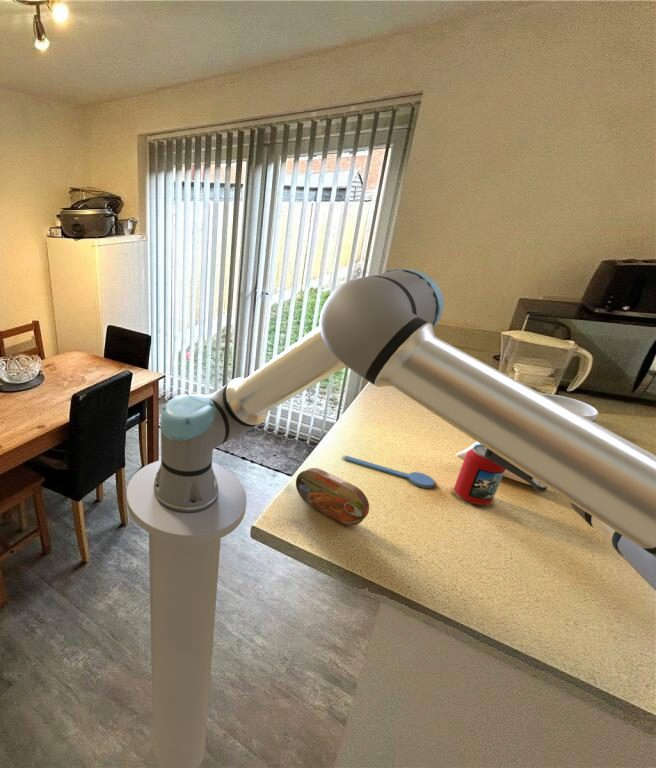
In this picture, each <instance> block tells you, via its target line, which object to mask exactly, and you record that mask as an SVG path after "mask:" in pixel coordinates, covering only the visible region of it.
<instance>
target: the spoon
mask: <svg viewBox="0 0 656 768" xmlns="http://www.w3.org/2000/svg"><path fill="white" fill-rule="evenodd" d="M344 461H347V462H350V463H353V464H357V465H359V466H363V467H367V468H370V469H373V470H375V471H379V472H383V473H386V474H390V475H392V476H396V477H399V478H403V479H406V480H408V481H409V482H410V483H411V484H412V485H414V486H416V487H419V488H423V489H432V488H433V487H434V485H435V480H434V478H432V477H431V476H430V475H428V474H427V473H426V474H425V473H422V472H419V471H418V472H417V471H413V472H410V473H406V472H402V471H400V470H395V469H393V468H389V467H386V466H382V465H380V464H375V463H373V462H369V461H365V460H362V459H359V458H355V457H352V456H349V455H346V456H345V458H344Z"/></svg>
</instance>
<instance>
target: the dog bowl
mask: <svg viewBox="0 0 656 768" xmlns="http://www.w3.org/2000/svg"><path fill="white" fill-rule="evenodd" d="M540 393H541V392H540ZM541 394H543V395H544V396H546V397H548V398H550V399H552V400H554V401H556V402H557V403H559V404H561V405H563V406H565V407H567V408H569V409H570V410H572V411H574V412H576V413H578V414H580V415H582V416H583V417H585V418H587V419H589V420H591V421H593V422H594V423H595V421H596V419H597V417H598V415H599V411H598V410H597V408H596V407H594V406H592V405H590V404H589V403H587V402H584V401H581V400H578V399H575V398H571V397H568V396H563V395H558V394H551V393H541Z"/></svg>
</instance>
